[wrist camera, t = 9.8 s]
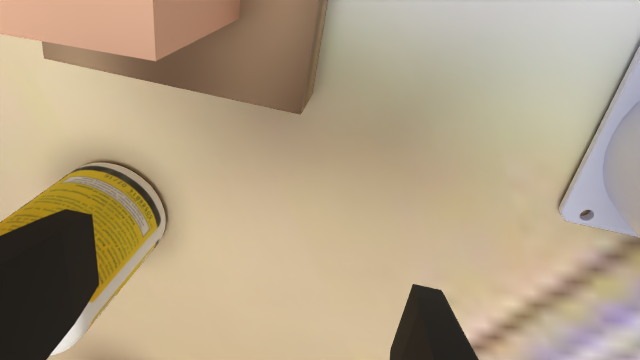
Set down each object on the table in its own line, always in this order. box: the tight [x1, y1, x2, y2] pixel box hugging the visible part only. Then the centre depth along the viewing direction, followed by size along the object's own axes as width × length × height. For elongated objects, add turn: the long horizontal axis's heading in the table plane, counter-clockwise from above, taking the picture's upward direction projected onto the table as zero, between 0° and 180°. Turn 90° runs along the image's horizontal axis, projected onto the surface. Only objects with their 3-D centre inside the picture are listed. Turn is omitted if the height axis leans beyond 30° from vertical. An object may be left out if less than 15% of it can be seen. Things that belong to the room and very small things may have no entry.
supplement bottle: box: [0, 163, 166, 356], centre depth 19 cm, size 5×5×10 cm
